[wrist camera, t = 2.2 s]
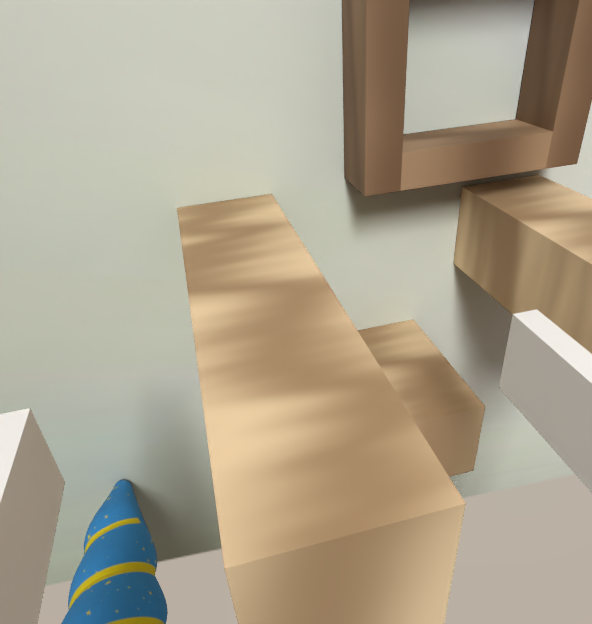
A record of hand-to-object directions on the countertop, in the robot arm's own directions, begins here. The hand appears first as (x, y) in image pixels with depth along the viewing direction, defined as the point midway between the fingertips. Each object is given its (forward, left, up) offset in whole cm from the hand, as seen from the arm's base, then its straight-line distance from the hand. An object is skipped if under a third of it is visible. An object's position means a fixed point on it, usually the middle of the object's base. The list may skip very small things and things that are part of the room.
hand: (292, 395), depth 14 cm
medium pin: (+13, -1, -10) cm, 16 cm away
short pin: (+7, -8, -10) cm, 15 cm away
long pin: (0, 0, -10) cm, 10 cm away
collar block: (+10, +7, -10) cm, 16 cm away
